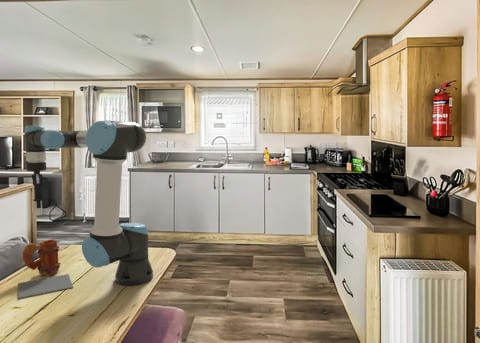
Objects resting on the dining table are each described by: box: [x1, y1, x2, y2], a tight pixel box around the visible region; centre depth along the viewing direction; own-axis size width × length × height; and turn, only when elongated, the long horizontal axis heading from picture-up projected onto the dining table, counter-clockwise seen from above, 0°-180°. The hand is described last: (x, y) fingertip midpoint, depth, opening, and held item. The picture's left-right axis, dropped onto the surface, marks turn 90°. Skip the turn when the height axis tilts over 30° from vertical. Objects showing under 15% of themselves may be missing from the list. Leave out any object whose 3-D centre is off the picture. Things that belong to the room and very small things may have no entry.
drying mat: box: [17, 273, 74, 300], centre depth 138 cm, size 15×18×1 cm
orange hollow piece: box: [22, 239, 61, 277], centre depth 148 cm, size 15×8×15 cm, turn 144°
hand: (39, 214), depth 155 cm, fingers closed
